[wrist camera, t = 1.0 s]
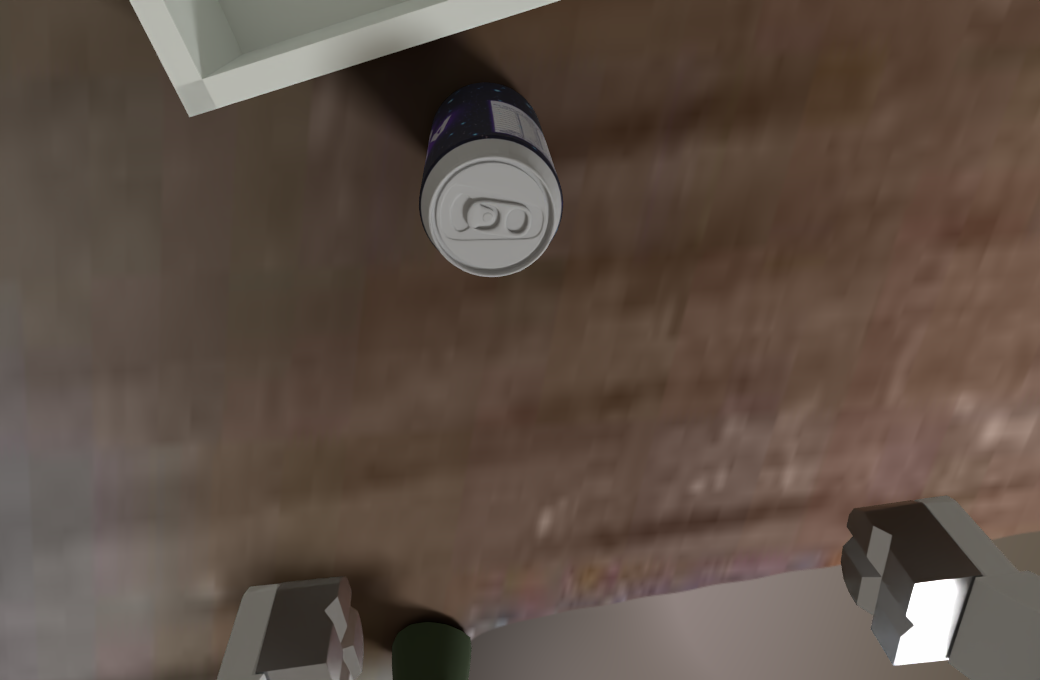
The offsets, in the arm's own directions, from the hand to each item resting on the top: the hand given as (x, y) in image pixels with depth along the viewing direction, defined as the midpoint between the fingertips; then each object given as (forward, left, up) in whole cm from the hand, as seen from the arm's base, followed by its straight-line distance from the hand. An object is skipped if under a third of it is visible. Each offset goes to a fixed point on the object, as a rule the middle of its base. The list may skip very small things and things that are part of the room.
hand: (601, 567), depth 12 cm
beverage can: (+1, 0, -30) cm, 30 cm away
